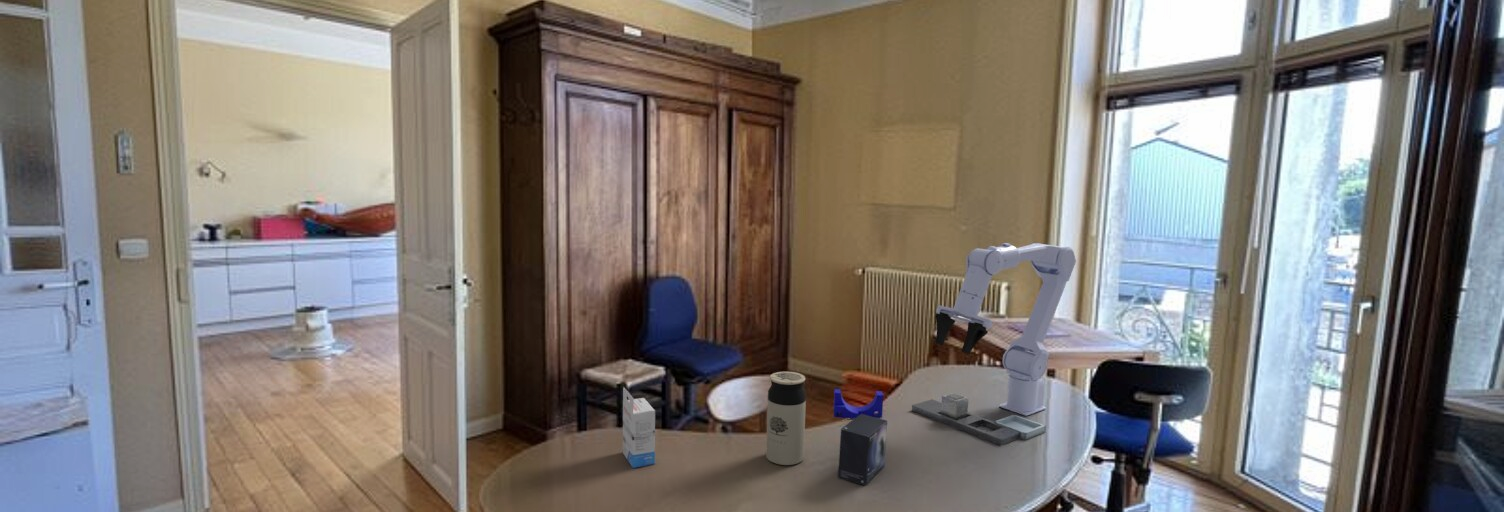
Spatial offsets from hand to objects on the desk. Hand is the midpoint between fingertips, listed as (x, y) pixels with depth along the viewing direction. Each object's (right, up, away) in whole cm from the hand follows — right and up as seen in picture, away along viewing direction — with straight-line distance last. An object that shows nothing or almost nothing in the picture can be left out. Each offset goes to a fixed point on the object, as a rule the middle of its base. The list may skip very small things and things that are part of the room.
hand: (951, 348), depth 159 cm
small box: (-25, -22, -23) cm, 41 cm away
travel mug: (-41, -21, -17) cm, 49 cm away
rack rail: (+4, -19, +5) cm, 20 cm away
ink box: (-72, -21, -19) cm, 77 cm away
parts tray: (+17, -20, +2) cm, 26 cm away
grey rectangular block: (+3, -19, +7) cm, 20 cm away
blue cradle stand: (-21, -18, +9) cm, 29 cm away
